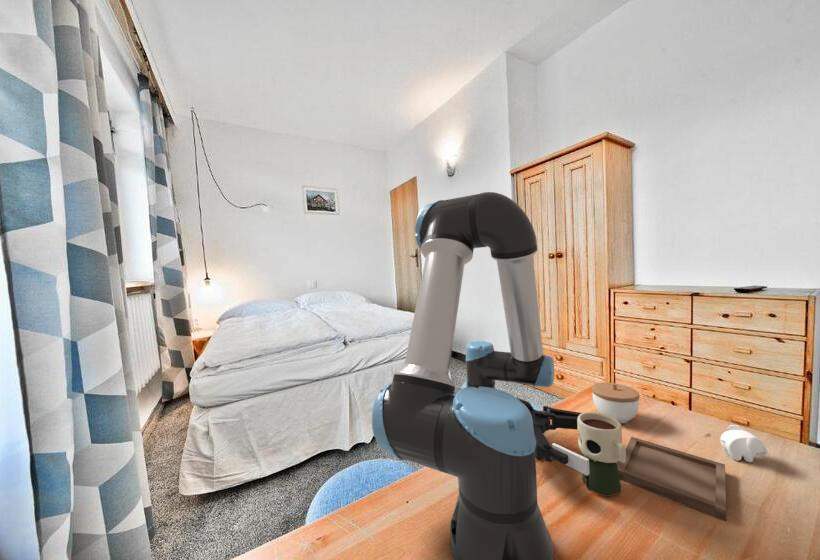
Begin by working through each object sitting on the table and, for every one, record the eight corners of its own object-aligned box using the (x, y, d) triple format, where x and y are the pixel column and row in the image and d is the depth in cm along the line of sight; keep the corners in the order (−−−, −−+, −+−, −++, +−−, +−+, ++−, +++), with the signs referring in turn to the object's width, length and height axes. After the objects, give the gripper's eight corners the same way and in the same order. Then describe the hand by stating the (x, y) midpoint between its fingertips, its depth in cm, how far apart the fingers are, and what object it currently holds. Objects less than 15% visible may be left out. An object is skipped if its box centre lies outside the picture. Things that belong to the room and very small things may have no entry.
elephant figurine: (781, 471, 58) (780, 442, 58) (728, 465, 61) (727, 436, 61) (754, 451, 65) (754, 424, 64) (707, 446, 67) (707, 420, 67)
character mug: (565, 471, 62) (562, 410, 61) (594, 465, 63) (592, 405, 63) (609, 513, 51) (606, 439, 51) (643, 504, 52) (641, 432, 52)
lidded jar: (650, 427, 76) (649, 391, 76) (608, 429, 76) (607, 393, 76) (621, 407, 87) (620, 375, 86) (584, 409, 87) (583, 377, 87)
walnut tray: (726, 521, 48) (726, 510, 48) (616, 478, 59) (615, 469, 59) (725, 473, 59) (724, 464, 59) (631, 444, 69) (631, 436, 69)
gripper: (540, 410, 81) (632, 446, 64) (477, 445, 67) (572, 503, 50) (539, 383, 81) (631, 412, 64) (475, 413, 67) (570, 459, 49)
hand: (605, 452), depth 57 cm, fingers open, 13 cm apart
